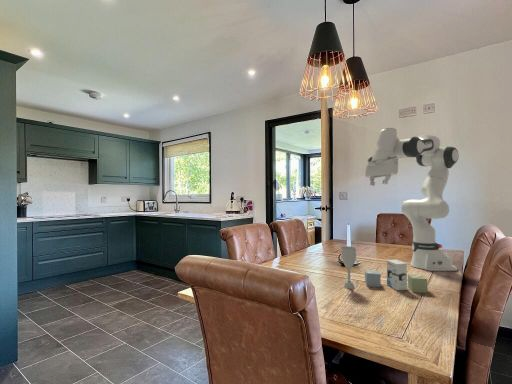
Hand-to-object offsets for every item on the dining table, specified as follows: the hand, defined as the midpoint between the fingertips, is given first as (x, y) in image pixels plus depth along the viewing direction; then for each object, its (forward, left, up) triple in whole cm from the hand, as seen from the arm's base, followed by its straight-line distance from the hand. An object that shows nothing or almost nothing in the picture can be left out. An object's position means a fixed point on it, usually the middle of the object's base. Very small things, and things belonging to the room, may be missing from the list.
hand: (378, 184), depth 145 cm
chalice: (+16, +17, -47) cm, 53 cm away
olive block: (-13, +15, -47) cm, 51 cm away
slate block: (+5, +11, -47) cm, 49 cm away
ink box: (-5, +13, -47) cm, 49 cm away
